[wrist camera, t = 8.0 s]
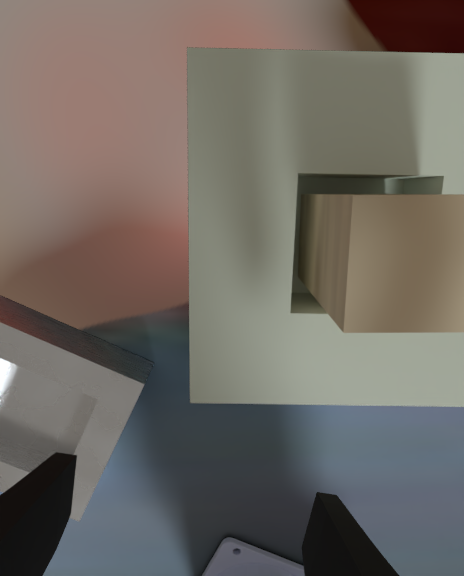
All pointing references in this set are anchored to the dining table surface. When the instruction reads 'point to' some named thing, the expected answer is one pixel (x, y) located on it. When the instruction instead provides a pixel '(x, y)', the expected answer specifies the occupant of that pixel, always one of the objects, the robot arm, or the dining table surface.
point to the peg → (385, 260)
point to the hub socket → (286, 217)
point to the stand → (61, 397)
